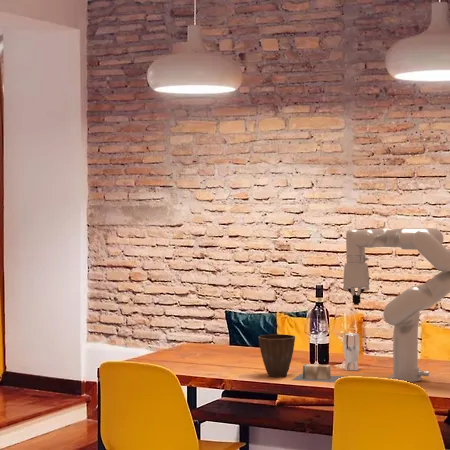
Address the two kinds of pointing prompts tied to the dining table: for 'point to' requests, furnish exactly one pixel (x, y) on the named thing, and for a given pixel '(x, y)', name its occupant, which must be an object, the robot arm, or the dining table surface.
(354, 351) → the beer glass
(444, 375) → the dining table surface
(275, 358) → the plant pot
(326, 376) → the capped block
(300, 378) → the rubber mat
